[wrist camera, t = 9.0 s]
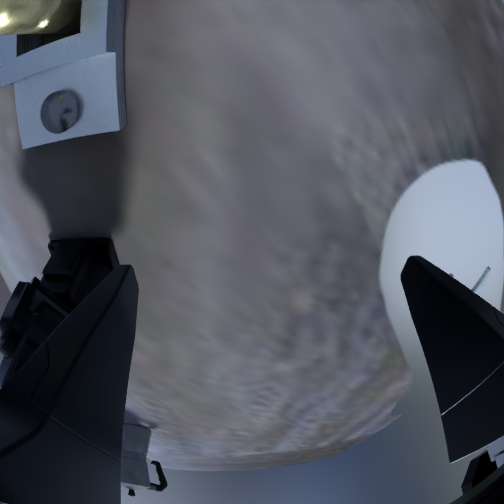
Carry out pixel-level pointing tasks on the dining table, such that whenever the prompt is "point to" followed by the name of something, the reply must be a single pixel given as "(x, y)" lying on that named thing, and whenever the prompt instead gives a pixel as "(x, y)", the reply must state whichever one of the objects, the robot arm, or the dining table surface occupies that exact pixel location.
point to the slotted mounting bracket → (69, 77)
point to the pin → (39, 16)
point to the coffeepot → (138, 460)
